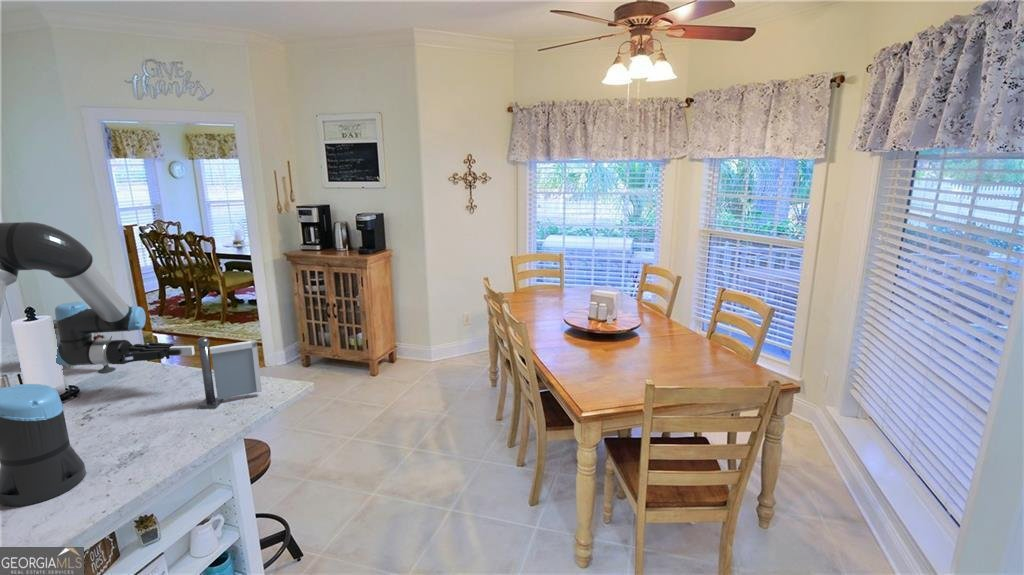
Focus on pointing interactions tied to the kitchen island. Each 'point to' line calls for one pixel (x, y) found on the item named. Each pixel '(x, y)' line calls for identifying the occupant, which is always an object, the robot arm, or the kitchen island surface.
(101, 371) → the sundae
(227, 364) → the panel
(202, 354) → the metal joystick
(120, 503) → the kitchen island surface
